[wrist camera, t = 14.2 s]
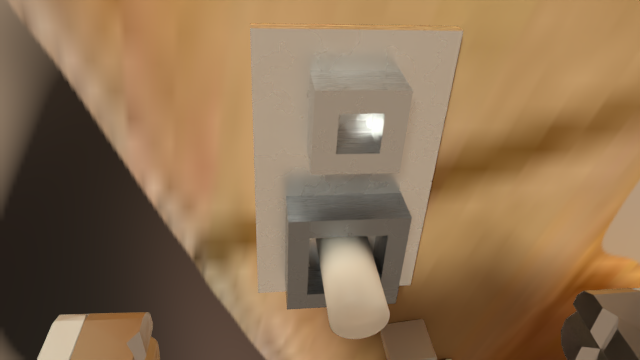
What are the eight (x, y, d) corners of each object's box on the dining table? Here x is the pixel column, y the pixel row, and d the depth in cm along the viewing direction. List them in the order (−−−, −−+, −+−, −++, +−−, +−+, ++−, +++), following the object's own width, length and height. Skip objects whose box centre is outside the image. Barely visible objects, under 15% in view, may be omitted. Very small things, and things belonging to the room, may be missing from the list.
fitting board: (457, 25, 32) (481, 47, 29) (407, 276, 44) (420, 312, 41) (250, 23, 30) (250, 45, 27) (258, 283, 43) (258, 321, 39)
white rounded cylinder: (369, 217, 39) (393, 296, 32) (364, 256, 41) (385, 337, 34) (317, 219, 38) (331, 299, 31) (315, 258, 40) (327, 340, 34)
